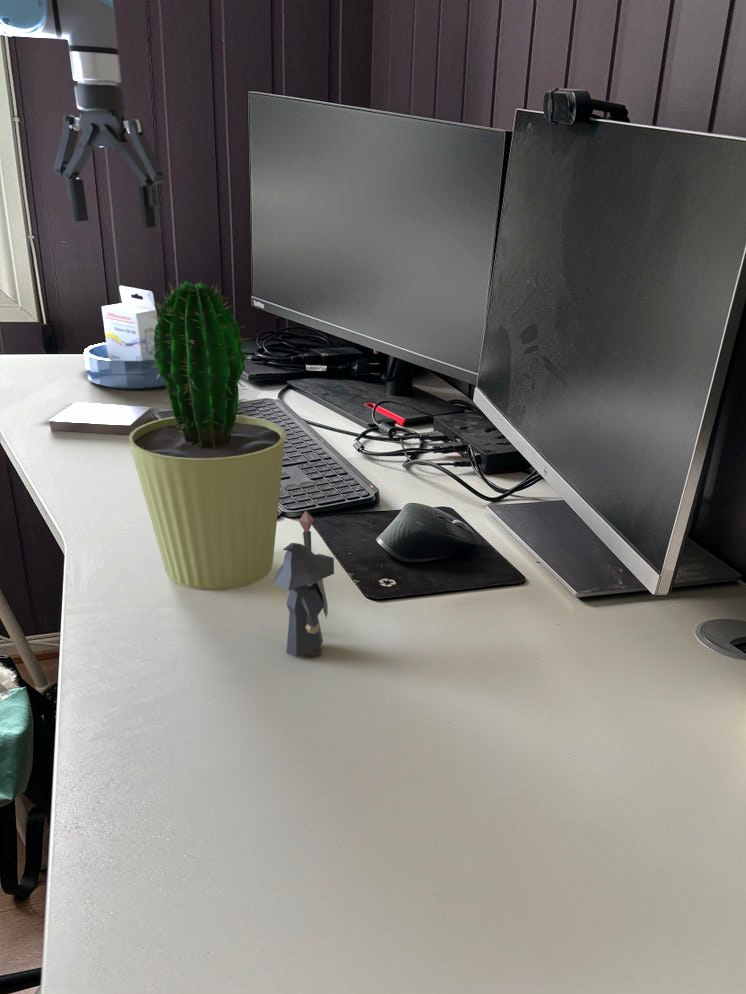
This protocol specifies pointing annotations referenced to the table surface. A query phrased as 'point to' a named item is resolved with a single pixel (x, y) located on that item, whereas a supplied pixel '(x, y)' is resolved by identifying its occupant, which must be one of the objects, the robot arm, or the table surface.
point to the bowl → (120, 370)
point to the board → (101, 418)
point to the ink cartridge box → (130, 326)
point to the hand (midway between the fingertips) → (115, 224)
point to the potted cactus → (208, 451)
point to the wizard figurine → (304, 592)
